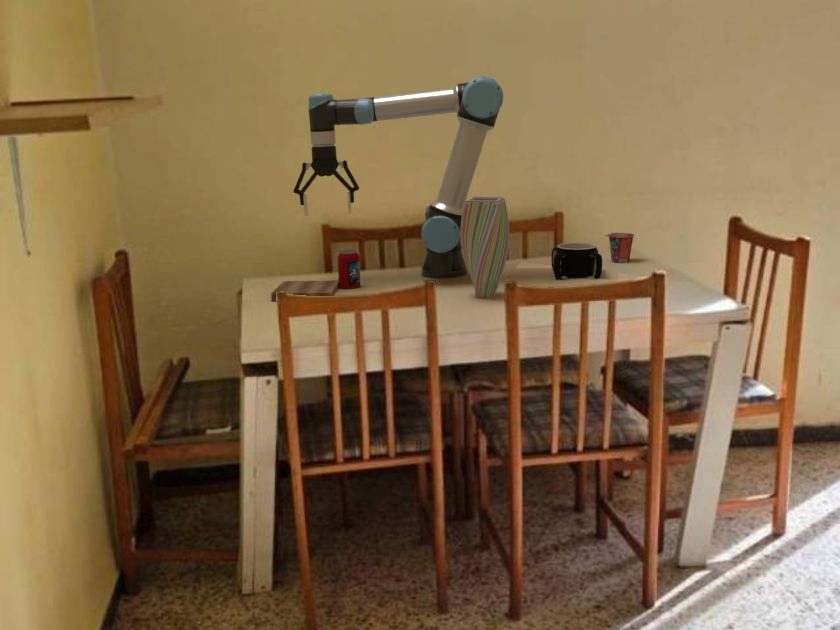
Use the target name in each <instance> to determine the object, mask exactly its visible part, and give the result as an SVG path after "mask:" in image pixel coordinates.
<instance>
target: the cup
mask: <svg viewBox="0 0 840 630" xmlns="http://www.w3.org/2000/svg"><path fill="white" fill-rule="evenodd" d="M605 237H608V239H609V249H610V259H611V262H612V263H613V264H625V263H629V262H630V258H631V253H632V245H633V241H634V237H635V234H634V233H631V232H612V233H608V234H606V235H605Z"/></svg>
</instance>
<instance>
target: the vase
mask: <svg viewBox="0 0 840 630" xmlns="http://www.w3.org/2000/svg"><path fill="white" fill-rule="evenodd" d="M461 245H462V254H463V257H464V260H465V263H466V266H467V272H468V274H469V276H470V279H471V283H472V285H473V289H474V293H475V295H474V296H475V298H476V299H477V298H480V299H481V298H482V299H483V298H495V297H496V295H497V291H498V288H499V285H500V283H501V280H502V276H503V273H504V270H505V266H506V264H507V263H506V262H507V258H508V253H509V246H510V223H509V213H508V207H507V201H506V199H505V198H504V197H503V196H471V197H470V198H467V199H466V201H465V202H464V205H463V212H462V219H461Z"/></svg>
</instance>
